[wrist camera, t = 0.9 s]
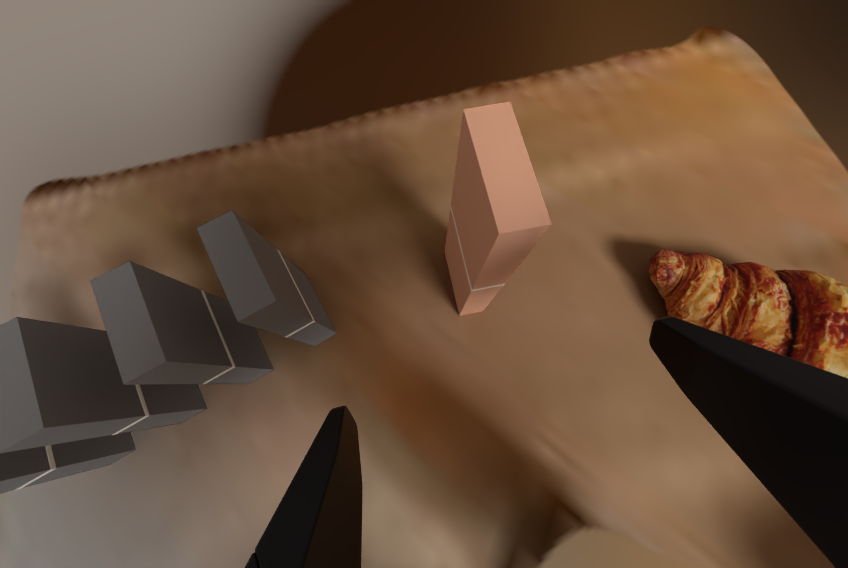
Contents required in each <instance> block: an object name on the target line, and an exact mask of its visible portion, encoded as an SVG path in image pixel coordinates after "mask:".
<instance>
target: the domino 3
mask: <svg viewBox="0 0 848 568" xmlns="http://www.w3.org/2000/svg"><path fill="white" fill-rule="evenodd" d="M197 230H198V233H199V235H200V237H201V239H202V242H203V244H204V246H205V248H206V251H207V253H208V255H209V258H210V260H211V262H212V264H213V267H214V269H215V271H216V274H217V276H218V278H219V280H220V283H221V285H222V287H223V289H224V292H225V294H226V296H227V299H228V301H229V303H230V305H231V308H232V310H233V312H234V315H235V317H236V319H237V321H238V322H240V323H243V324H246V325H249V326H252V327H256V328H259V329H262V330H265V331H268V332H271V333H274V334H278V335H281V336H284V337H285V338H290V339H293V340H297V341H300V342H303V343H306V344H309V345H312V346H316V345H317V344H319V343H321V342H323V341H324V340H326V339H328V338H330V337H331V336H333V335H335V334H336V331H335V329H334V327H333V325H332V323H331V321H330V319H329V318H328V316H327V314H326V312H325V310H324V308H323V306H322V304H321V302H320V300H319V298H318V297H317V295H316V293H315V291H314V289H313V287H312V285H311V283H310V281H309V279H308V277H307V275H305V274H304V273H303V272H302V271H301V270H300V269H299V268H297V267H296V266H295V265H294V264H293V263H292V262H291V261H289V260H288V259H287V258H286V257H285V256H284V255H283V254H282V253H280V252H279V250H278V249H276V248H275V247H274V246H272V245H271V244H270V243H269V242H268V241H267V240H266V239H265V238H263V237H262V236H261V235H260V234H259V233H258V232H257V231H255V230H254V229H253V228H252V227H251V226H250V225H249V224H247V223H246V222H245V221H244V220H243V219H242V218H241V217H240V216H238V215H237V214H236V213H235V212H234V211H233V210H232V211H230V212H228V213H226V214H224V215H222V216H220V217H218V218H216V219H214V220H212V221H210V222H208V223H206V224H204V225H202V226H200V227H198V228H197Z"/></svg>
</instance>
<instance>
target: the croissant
mask: <svg viewBox="0 0 848 568" xmlns="http://www.w3.org/2000/svg"><path fill="white" fill-rule="evenodd" d="M648 272H649V273H650V275H651V277H650V279H651V281H652V282H653V283H654V285H655V286H656V287H657V288H658V292H659V293H660V294H661V296H662V297H663V298H664V299H665V304H666V310H667V311H668V316H672V317H675V318H678V319H681V320H684V321H687V322H690V323H692V324H695V325H698V326H701V327H704V328H707V329H709V330H712V331H715V332H718V333H721V334H724V335H726V336H729V337H732V338H735V339H738V340H741V341H744V342H746V343H749V344H752V345H755V346H758V347H761V348H763V349H766V350H769V351H772V352H775V353H778V354H780V355H783V356H786V357H789V358H792V359H795V360H798V361H800V362H803V363H806V364H809V365H812V366H815V367H817V368H820V369H823V370H826V371H829V372H832V373H834V374H837V375H840V376H843V377H846V378H848V285H846V284H844V283H842V282H839V281H837V280H835V279H833V278H831V277H829V276H827V275H824V274H820V273H816V272H812V271H800V270H772V269H770V268H768V267H766V266H763V265H760V264H757V263H752V262H746V263H735V264H727V265H722V262H721V261H720V260H719V259H717V258H715V257H712V256H710V255H706V254H702V253H684V252H678V251H671V250H668V249H662V250H661V251H659V252H657V253H656V254H655V255H654V256H653V257H652V258H651V259H650V269H649V271H648Z"/></svg>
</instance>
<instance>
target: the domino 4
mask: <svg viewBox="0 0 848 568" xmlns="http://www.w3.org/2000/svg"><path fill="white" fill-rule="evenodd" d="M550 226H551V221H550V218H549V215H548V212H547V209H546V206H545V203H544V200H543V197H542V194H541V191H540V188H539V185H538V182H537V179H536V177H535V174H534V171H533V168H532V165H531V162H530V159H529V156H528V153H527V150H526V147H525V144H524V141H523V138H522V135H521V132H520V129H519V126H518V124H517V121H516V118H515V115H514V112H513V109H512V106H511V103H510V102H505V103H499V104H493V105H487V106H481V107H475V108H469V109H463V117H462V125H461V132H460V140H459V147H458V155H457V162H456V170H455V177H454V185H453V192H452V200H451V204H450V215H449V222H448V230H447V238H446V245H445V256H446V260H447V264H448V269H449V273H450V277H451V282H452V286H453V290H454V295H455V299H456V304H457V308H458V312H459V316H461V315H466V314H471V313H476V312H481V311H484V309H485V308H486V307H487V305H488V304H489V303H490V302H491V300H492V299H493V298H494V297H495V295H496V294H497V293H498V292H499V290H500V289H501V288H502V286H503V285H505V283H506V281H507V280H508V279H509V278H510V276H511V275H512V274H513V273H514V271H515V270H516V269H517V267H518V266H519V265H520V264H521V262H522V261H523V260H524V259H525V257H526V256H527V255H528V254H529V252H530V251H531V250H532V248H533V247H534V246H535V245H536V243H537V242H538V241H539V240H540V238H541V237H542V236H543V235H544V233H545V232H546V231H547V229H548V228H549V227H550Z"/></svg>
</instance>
